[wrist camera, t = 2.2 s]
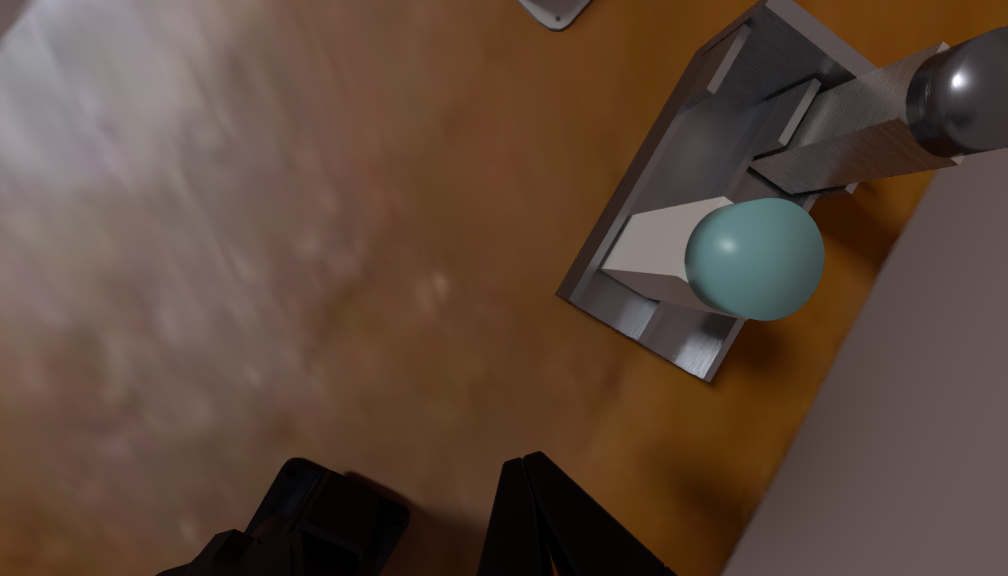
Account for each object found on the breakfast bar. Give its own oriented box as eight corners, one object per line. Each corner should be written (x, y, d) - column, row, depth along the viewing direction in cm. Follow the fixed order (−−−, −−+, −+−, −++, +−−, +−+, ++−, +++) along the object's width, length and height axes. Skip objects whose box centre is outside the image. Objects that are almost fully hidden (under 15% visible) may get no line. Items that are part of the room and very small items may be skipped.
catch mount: (681, 369, 23) (862, 458, 13) (555, 294, 21) (647, 329, 12) (815, 139, 22) (1099, 52, 13) (696, 51, 21) (909, -122, 11)
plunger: (647, 305, 20) (784, 341, 12) (588, 270, 20) (690, 282, 12) (683, 244, 20) (844, 238, 12) (625, 207, 20) (753, 174, 12)
